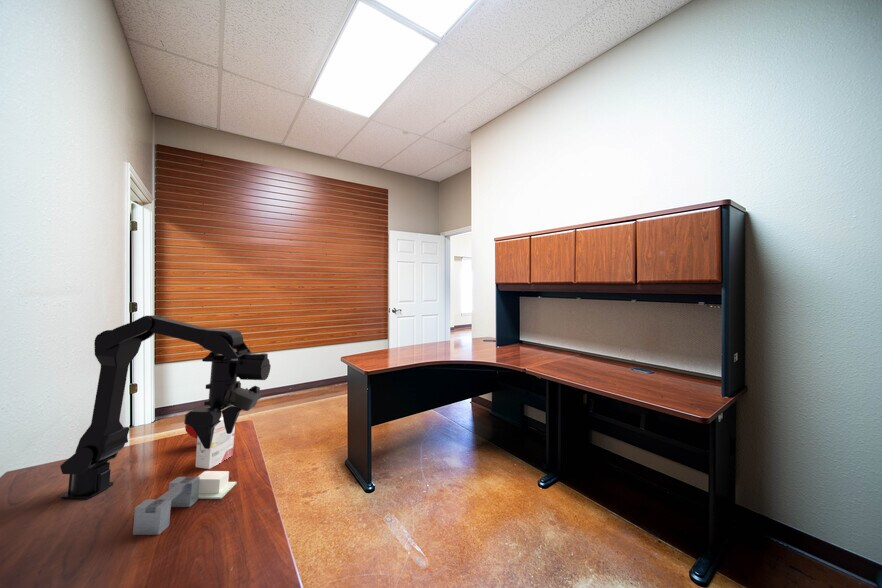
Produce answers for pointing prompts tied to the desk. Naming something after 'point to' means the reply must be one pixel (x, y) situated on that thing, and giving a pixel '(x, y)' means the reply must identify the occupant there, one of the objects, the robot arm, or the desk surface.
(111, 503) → the desk surface
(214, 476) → the plug
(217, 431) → the ink cartridge box
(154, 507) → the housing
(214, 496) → the mat
